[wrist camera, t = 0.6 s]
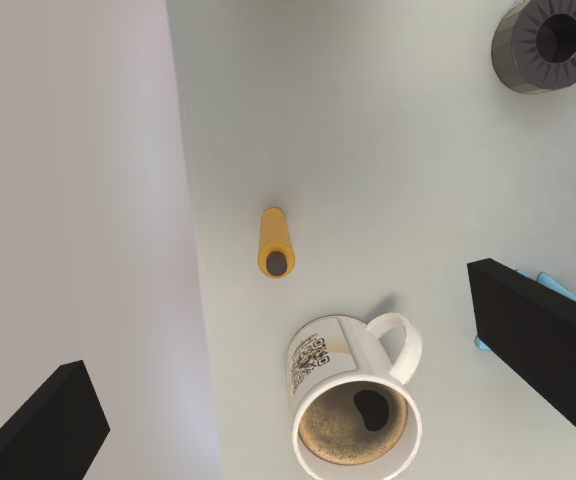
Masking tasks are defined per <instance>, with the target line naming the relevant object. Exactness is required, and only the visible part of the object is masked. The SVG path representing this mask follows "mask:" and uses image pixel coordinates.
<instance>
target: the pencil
mask: <svg viewBox="0 0 576 480" xmlns="http://www.w3.org/2000/svg"><path fill="white" fill-rule="evenodd" d="M294 264H295V256H294V252H293V248H292V244H291V240H290V235H289V231H288V227H287V223H286V219H285V215H284V213H283V212H282V211H281V210H279V209H277V208H270V209H267V210H266V211H265V212H264V213H263V215H262V218H261V229H260V241H259V252H258V265H259V268H260V270H261V271H262V272H263V273H264V274H265V275H267V276H269V277H272V278H281V277H284V276H286V275H287V274H289V273H290V272H291V270H292V269H293V267H294Z"/></svg>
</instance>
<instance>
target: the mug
mask: <svg viewBox="0 0 576 480" xmlns="http://www.w3.org/2000/svg"><path fill="white" fill-rule="evenodd" d="M395 327H403V328H404V331H405V341H404V345H403V348H402V350H401V353H400V355H399V357H398V358H397V360H396V361H395V363H394V364H393V363H392V361H391V359H390V358H389V356H388V354H387V352H386V351H385V349H384V347H383V345H382V344H381V342H380V340H379V338H380V337H381V336H382V335H384V334H385V333H386V332H387V331H389V330H391V329H393V328H395ZM421 353H422V338H421V334H420V331H419V330H418V328H417V327H416V326H415V325H414V324H413V323H412V322H411V321H410V320H408V319H407V318H406V317H405V316H403V315H402V314H399V313H387V314H383V315H380V316H378V317H377V318H375V319H373V320H372V321H371V322H370V323H369V324H368V325H366V324H364V323H363V322H361V321H359V320H357V319H354V318H351V317H347V316H327V317H323V318H320V319H317V320H315V321H313V322H311V323H309V324H308V325H306V326H305V327H303V328H302V329H301V330H300V331H299V332H298V333H297V334H296V336H295V337H294V338H293V340H292V341H291V343H290V345H289V348H288V351H287V355H286V375H287V387H288V399H289V411H290V423H291V435H292V444H293V449H294V452H295V455H296V457H297V459H298V461H299V462H300V464H301V466H302V467H303V468H304V469H305V470H306V472H307V473H308V474H309V475H311V476H312V477H313V478H314V479H316V480H391V479H393V478H394V477H396V476H397V475H398V474H400V473H401V472H402V471H403V470H404V469H405V468H406V467H407V466H408V465H409V464H410V462H411V461H412V459H413V458H414V456H415V455H416V452H417V450H418V448H419V445H420V441H421V437H422V420H421V415H420V412H419V409H418V407H417V405H416V403H415V401H414V399H413V398H412V396H411V394H410V392H409V391H408V389H407V387H406V385H405V384H406V383H407V382H408V381H409V380H410V379H411V378H412V376H413V375H414V373H415V371H416V369H417V367H418V365H419V362H420V359H421Z"/></svg>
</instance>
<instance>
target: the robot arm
mask: <svg viewBox="0 0 576 480" xmlns="http://www.w3.org/2000/svg"><path fill="white" fill-rule="evenodd" d="M467 268H468V274H469V281H470V287H471V294H472V300H473V307H474V313H475V320H476V326H477V333H478V338H479V339H480V340H481V341H482V342H483V343H484V344H485V345H486V346H487V347H489V348H490V349H491V350H492V351H493V352H494V353H495V354H496V355H497V356H498V357H499V358H501V359H502V360H503V361H504V362H505V363H506V364H507V365H508V366H509V367H510V368H512V369H513V370H514V371H515V372H516V373H517V374H518V375H519V376H520V377H521V378H523V379H524V380H525V381H526V382H527V383H528V384H529V385H530V386H531V387H532V388H534V389H535V390H536V391H537V392H538V393H539V394H540V395H541V396H542V397H543V398H544V399H546V400H547V401H548V402H549V403H550V404H551V405H552V406H553V407H554V408H555V409H557V410H558V411H559V412H560V413H561V414H562V415H563V416H564V417H565V418H566V419H568V420H569V421H570V422H571V423H572V424H573V425H574V426H575V427H576V301H574V300H572V299H570V298H568V297H566V296H564V295H562V294H560V293H558V292H556V291H554V290H552V289H550V288H548V287H546V286H544V285H542V284H540V283H538V282H536V281H534V280H532V279H530V278H528V277H526V276H524V275H522V274H520V273H518V272H516V271H514V270H512V269H510V268H508V267H506V266H504V265H502V264H500V263H498V262H496V261H494V260H492V259H491V258H488V259H484V260H480V261H476V262H472V263H468V264H467ZM109 431H110V427H109V425H108V423H107V420H106V417H105V415H104V412H103V410H102V407H101V405H100V402H99V400H98V398H97V395H96V392H95V390H94V387H93V385H92V382H91V380H90V377H89V375H88V372H87V370H86V367H85V365H84V362H83V360H80V361H76V362H72V363H68V364H64V365H60V366H59V367H58V368H57V370H56V371H55V372H54V373H53V374H52V375H51V376H50V377H49V378H48V379H47V380H46V381H45V382H44V383H43V384H42V385H41V386H40V387H39V388H38V390H37V391H35V393H34V394H33V395H32V396H31V397H30V398H29V399H28V400H27V401H26V402H25V403H24V404H23V405H22V406H21V407H20V409H18V410H17V411H16V413H14V415H13V416H12V417H11V418H10V419H9V420H8V421H7V422H6V423H5V424H4V425H3V426H2V427H1V428H0V480H82V479H83V478H84V476H85V474H86V472H87V470H88V469H89V467H90V465H91V463H92V462H93V460H94V458H95V456H96V455H97V453H98V451H99V449H100V447H101V446H102V444H103V442H104V440H105V438H106V437H107V435H108V433H109Z"/></svg>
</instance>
